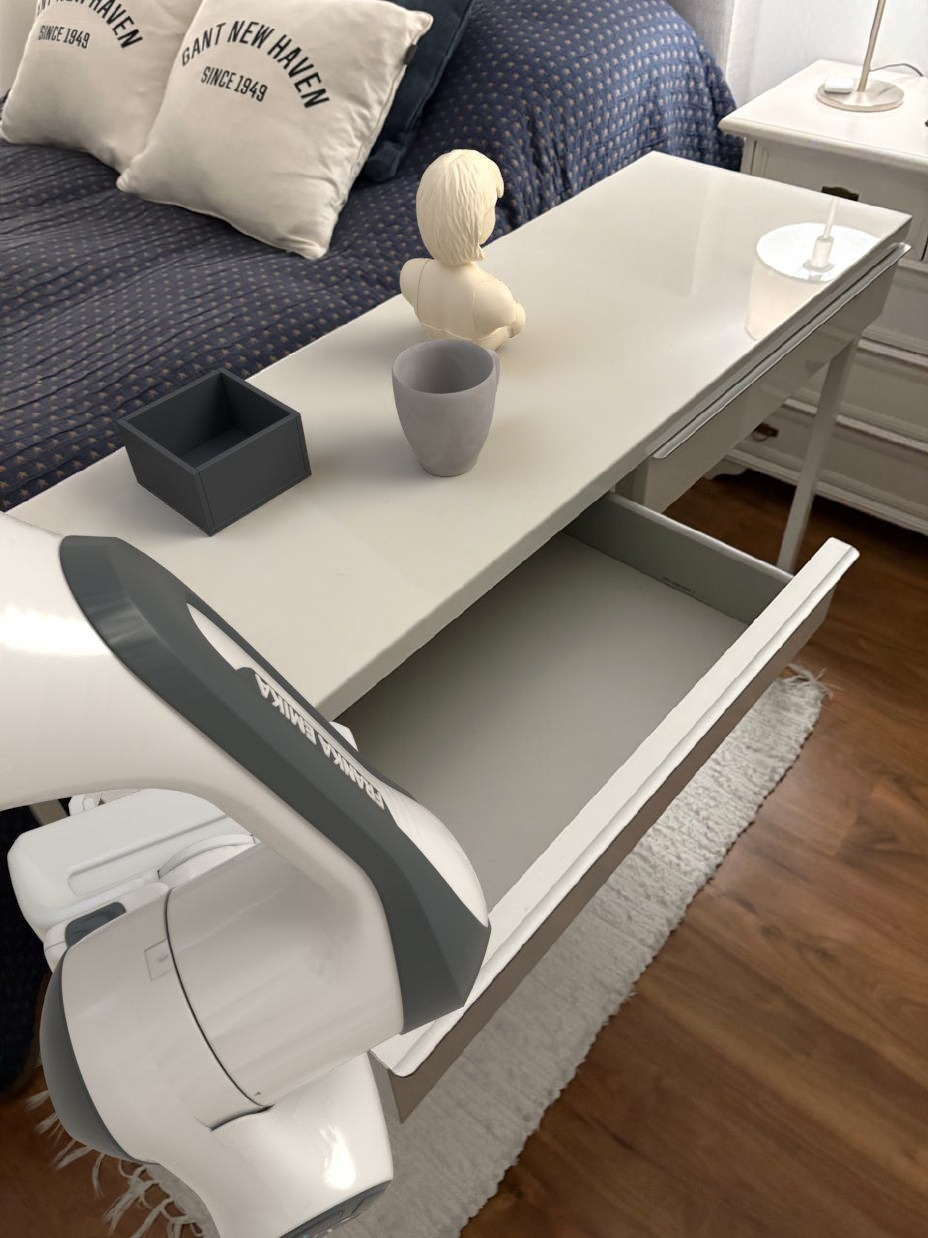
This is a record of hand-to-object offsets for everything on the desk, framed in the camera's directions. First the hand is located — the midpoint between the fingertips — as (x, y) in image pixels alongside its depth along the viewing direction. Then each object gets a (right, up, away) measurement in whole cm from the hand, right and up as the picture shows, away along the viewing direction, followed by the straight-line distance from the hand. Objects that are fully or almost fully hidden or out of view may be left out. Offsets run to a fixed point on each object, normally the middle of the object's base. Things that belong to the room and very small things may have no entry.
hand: (171, 732), depth 61 cm
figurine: (+19, +35, +40) cm, 56 cm away
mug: (+18, +23, +28) cm, 40 cm away
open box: (-3, +20, +26) cm, 33 cm away
